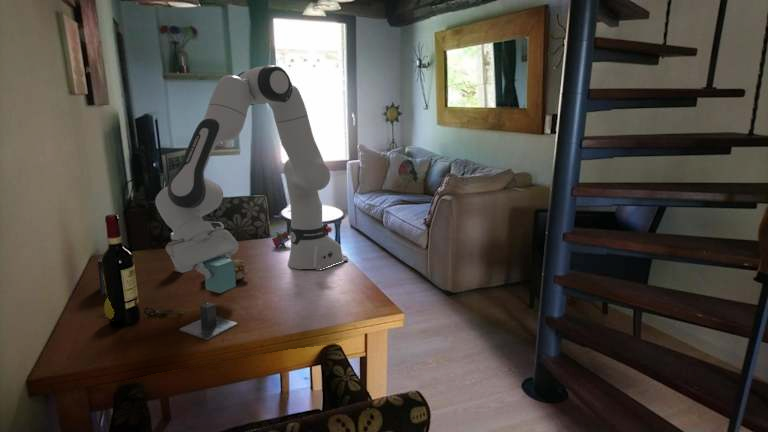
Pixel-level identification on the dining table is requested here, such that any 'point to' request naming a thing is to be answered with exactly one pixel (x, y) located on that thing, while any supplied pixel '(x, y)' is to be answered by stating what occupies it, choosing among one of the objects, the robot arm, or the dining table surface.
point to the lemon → (108, 309)
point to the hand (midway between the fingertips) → (221, 273)
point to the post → (208, 323)
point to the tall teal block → (220, 275)
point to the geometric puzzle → (280, 239)
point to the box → (101, 274)
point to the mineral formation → (239, 269)
